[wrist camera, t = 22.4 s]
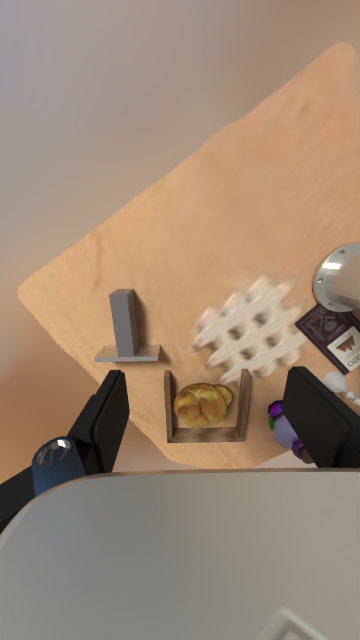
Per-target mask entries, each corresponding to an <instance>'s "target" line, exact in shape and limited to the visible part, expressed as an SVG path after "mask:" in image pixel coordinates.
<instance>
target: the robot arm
mask: <svg viewBox="0 0 360 640" xmlns="http://www.w3.org/2000/svg"><path fill="white" fill-rule="evenodd" d="M312 288H313V294H314V297H315V299H316V300H317V302H318V303H319V304H320V305H321V306H323V307H324V308H326V309H328V310H331V311H335V312H348V311H352V310H358V311H360V243H352V244H347V245H344V246H341V247H339V248H337V249H336V250H334V251H332V252H331V253H330V254H329V255H327V256H326V257H325V258H324V260H323V261H322V262H321V263H320V265H319V266H318V268H317V270H316V272H315V275H314V278H313V287H312ZM282 412H283V414H284V416H285V417H286V419H287V421H288V422H289V424H290V425H291V427H292V428H293V430H294V431H295V433H296V435H297V436H298V438H299V439H300V441H301V442H302V444H303V446H304V447H305V449H306V450H307V452H308V453H309V455H310V456H311V458H312V460H313V461H314V463H315V464H316V466H317V467H318V468H268V469H267V468H260V469H201V470H200V469H199V470H158V471H156V470H155V471H129V472H112V469H113V466H114V463H115V460H116V456H117V453H118V450H119V446H120V444H121V440H122V437H123V434H124V431H125V427H126V424H127V421H128V418H129V413H130V410H129V402H128V395H127V387H126V380H125V373H124V372H121V370H110V371H109V373H108V374H107V376H106V378H105V379H104V381H103V383H102V384H101V386H100V388H99V389H98V391H97V393H96V394H94V395H92V396H91V397H90V399H89V400H88V402H87V404H86V405H85V407H84V409H83V410H82V412H81V413H80V415H79V417H78V418H77V420H76V421H75V423H74V425H73V426H72V428H71V430H70V431H69V433H68V434H67V436H61V437H57V438H54V439H52V440H50V441H48V442H47V443H46V444H44V445H43V446H42V447H40V448H39V450H38V451H37V452H36V453H35V455H34V457H33V459H32V465H31V466H30V467H28V468H26V469H25V470H23V471H22V472H20V473H18V474H17V475H15V476H13V477H12V478H10V479H9V480H7V481H5V482H4V483H2V484H0V640H360V417H359V416H358V415H357V414H356V413H355V412H354V411H353V410H352V409H351V408H349V407H348V406H347V405H346V404H345V403H344V402H343V401H342V400H341V399H340V398H339V397H337V396H336V395H335V394H334V393H333V392H332V391H331V390H330V389H329V388H328V387H326V386H325V385H324V384H323V383H322V382H321V381H320V380H319V379H318V378H317V377H316V376H314V375H313V374H312V373H311V372H310V371H309V370H308V369H307V368H306V367H304V366H296V367H292V368H291V369H290V370H289V371H288V376H287V381H286V387H285V392H284V397H283V403H282Z"/></svg>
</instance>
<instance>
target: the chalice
mask: <svg viewBox="0 0 360 640" xmlns="http://www.w3.org/2000/svg"><path fill="white" fill-rule="evenodd" d="M322 383H323V384H324V385H325V386H326V387H328V388H329V389H330V390H331V391H333V392H337V393H339V392H344V393H345V395H346V398H348V399H352V400H353V402H354V404H355V405H358V406H360V399H359V398H357V397H355V394H354V392H350V391H348V390H347V389H346V388H347V381H346V379H345V378H344V375H343V374H342V373H341V372H339V371H332V372H329V373H327V374H326V375H325V376H324V377H323V379H322Z"/></svg>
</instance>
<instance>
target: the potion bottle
mask: <svg viewBox="0 0 360 640" xmlns="http://www.w3.org/2000/svg"><path fill="white" fill-rule="evenodd" d="M282 403H283V400H280V401H275V402H274V403H272V404H271V405H270V406H269V409H268V414H269V415H270V418H269V425H270V429H271V430H272V431H273V435H274V439H275V441H276V442H277V443H279V444H280V445H281V446H282V447H284V448H291V449H292V451H293V453H294V455H295V456H297V457H298V458H299V459H302V460H303V462H304V463H307V464H311V463H314V461H313V460H312V458H311V456H310V455H309V453H308V452H307V450H306V449H305V447H304V446H303V444H302V442H301V441H300V439H299V438H298V436H297V435H296V433H295V431H294V430H293V428H292V427H291V425H290V424H289V422H288V421H287V419H286V417H285V416H284V414H283V412H282Z"/></svg>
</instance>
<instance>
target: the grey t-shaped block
mask: <svg viewBox="0 0 360 640" xmlns="http://www.w3.org/2000/svg"><path fill="white" fill-rule="evenodd" d="M109 297H110V304H111V311H112V318H113V325H114V332H115V339H116V346H103V348H102V349H101V350H100V351H99V353H98V354H97V355H96V356H95V362H130V361H158V358H159V353H160V345H139V339H138V330H137V320H136V310H135V300H134V290H133V289H118V290H116V291H114V292H113V293H111V294H109Z"/></svg>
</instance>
